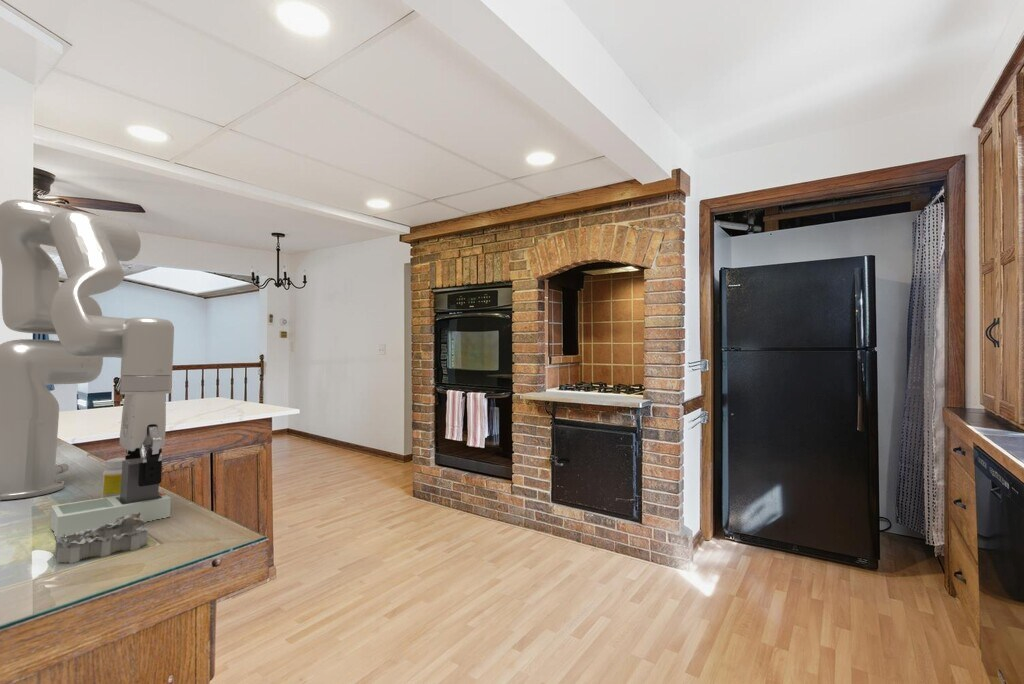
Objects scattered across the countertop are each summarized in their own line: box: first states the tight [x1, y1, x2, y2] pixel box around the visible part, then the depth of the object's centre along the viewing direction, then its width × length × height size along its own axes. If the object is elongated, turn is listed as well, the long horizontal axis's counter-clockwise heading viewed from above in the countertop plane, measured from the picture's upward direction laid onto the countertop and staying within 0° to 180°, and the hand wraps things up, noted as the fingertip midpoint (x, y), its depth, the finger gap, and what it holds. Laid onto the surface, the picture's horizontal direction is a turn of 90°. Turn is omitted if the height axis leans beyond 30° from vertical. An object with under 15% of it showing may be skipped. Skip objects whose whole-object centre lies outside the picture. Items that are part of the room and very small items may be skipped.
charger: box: [120, 458, 160, 505], centre depth 87 cm, size 5×5×8 cm
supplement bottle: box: [100, 457, 125, 498], centre depth 94 cm, size 5×5×8 cm
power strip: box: [49, 489, 172, 536], centre depth 84 cm, size 15×8×4 cm, turn 140°
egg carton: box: [54, 513, 149, 564], centre depth 72 cm, size 11×8×4 cm
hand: (142, 480), depth 86 cm, fingers open, 9 cm apart
